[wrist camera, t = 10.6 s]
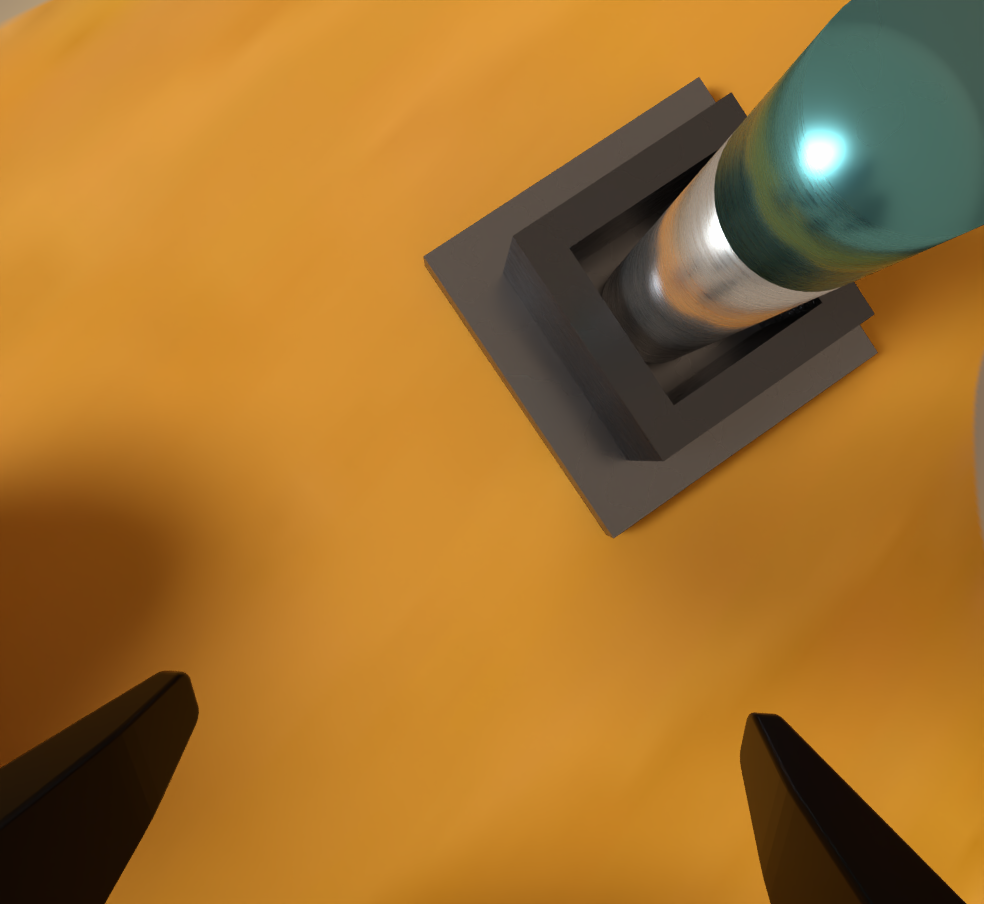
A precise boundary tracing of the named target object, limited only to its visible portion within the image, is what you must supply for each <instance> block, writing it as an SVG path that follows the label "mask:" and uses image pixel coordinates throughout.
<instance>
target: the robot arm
mask: <svg viewBox="0 0 984 904" xmlns="http://www.w3.org/2000/svg"><path fill="white" fill-rule="evenodd" d="M198 714H199V708H198V704H197V701H196V697H195V694H194V690H193V687H192V683H191V680H190V677H189V676H188V675H187V674H186V673H184V672H177V671H161V672H159V673H157V674H155V675H153V676H152V677H150V678H148V679H147V680H145V681H143V682H142V683H140V684H138V685H137V686H135V687H133V688H132V689H130V690H128V691H127V692H125V693H124V694H122V695H120V696H119V697H117V698H115V699H114V700H112V701H110V702H109V703H107V704H105V705H104V706H102V707H100V708H99V709H97V710H95V711H94V712H92V713H91V714H89V715H87V716H86V717H84V718H82V719H81V720H79V721H77V722H76V723H74V724H72V725H71V726H69V727H67V728H66V729H64V730H62V731H61V732H59V733H58V734H56V735H54V736H53V737H51V738H49V739H48V740H46V741H44V742H43V743H41V744H39V745H38V746H36V747H34V748H33V749H31V750H29V751H28V752H26V753H24V754H23V755H21V756H20V757H18V758H16V759H15V760H13V761H11V762H10V763H8V764H6V765H5V766H3V767H1V768H0V904H105V902H106V901H107V899H108V897H109V895H110V894H111V892H112V890H113V888H114V886H115V885H116V883H117V881H118V879H119V878H120V876H121V874H122V872H123V871H124V869H125V867H126V865H127V863H128V862H129V860H130V858H131V856H132V855H133V853H134V851H135V849H136V848H137V846H138V844H139V842H140V840H141V839H142V837H143V835H144V833H145V832H146V830H147V828H148V826H149V824H150V822H151V820H152V819H153V817H154V815H155V813H156V810H157V808H158V806H159V804H160V802H161V800H162V798H163V796H164V794H165V791H166V789H167V787H168V785H169V783H170V780H171V778H172V776H173V774H174V772H175V769H176V767H177V765H178V763H179V761H180V758H181V756H182V754H183V752H184V750H185V747H186V745H187V743H188V741H189V739H190V736H191V734H192V732H193V730H194V728H195V725H196V723H197V719H198ZM740 764H741V770H742V775H743V780H744V785H745V790H746V795H747V800H748V805H749V810H750V815H751V820H752V825H753V830H754V835H755V840H756V845H757V850H758V855H759V860H760V864H761V869H762V874H763V878H764V882H765V885H766V889H767V892H768V896H769V900H770V903H771V904H966V903H965V902H964V901H963V900H962V899H961V898H960V897H959V896H958V895H957V894H956V893H955V892H954V891H953V890H952V889H951V888H950V887H949V886H948V885H947V884H946V883H945V882H944V881H943V880H942V879H941V878H940V877H939V876H938V875H937V874H936V873H935V872H934V871H933V870H932V869H931V868H930V867H929V866H928V865H927V864H926V863H925V862H924V861H923V860H922V859H921V858H920V857H919V856H918V854H917V853H916V852H915V851H914V850H913V849H912V848H911V847H910V846H909V845H908V844H907V843H906V842H905V841H904V840H903V839H902V838H901V837H900V836H899V835H898V834H897V833H896V832H895V831H894V830H893V829H892V828H891V827H890V826H889V825H888V824H887V823H886V822H885V821H884V820H883V819H882V818H881V817H880V816H879V815H878V814H877V813H876V812H875V811H874V810H873V809H872V808H871V807H870V806H869V805H868V804H867V803H866V802H865V801H864V800H863V799H862V798H861V797H860V796H859V795H858V794H857V793H856V792H855V791H854V790H853V789H852V788H851V787H850V786H849V785H848V784H847V783H846V782H845V781H844V780H843V779H842V778H841V777H840V776H839V775H838V774H837V773H836V772H835V771H834V770H833V769H832V768H831V767H830V766H829V765H828V764H827V763H826V762H825V761H824V760H823V759H822V758H821V757H820V756H819V755H818V754H817V752H816V751H815V750H814V749H813V748H812V747H811V746H810V745H809V744H808V743H807V742H806V741H805V740H804V739H803V738H802V737H801V736H800V735H799V734H798V733H797V732H796V731H795V730H794V729H793V728H792V727H791V726H790V725H789V724H788V723H787V722H786V721H785V720H784V719H783V718H782V717H780V716H778V715H776V714H768V713H751V714H749V716H748V718H747V721H746V726H745V731H744V736H743V740H742V745H741V750H740Z"/></svg>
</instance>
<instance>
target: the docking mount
mask: <svg viewBox="0 0 984 904" xmlns="http://www.w3.org/2000/svg"><path fill="white" fill-rule="evenodd" d="M746 117H747V116H746V114H745V113H744V111H743V110H742V108H741V106H740V105H739V103H738V102H737V100H736V99H735V97H734V96H733V94H732V93H730V94H728V95H727V96H725V97H724V98H722V99H721V100H719V101H717V102H715V101H714V99H713V98H712V96H711V95H710V93H709V91H708V90H707V88H706V87H705V85H704V84H703V82H702V81H701V79H700V78H699V77H698V78H697V79H695V80H694V81H692V82H691V83H689V84H687V85H686V86H684V87H683V88H681V89H680V90H678V91H677V92H675V93H674V94H672V95H671V96H669V97H668V98H666V99H664V100H663V101H661V102H660V103H658V104H657V105H655V106H654V107H652V108H651V109H649V110H648V111H646V112H645V113H643V114H641V115H640V116H638V117H637V118H635V119H634V120H632V121H631V122H629V123H628V124H626V125H625V126H623V127H622V128H620V129H618V130H617V131H615V132H614V133H612V134H611V135H609V136H608V137H606V138H605V139H603V140H602V141H600V142H598V143H597V144H595V145H594V146H592V147H591V148H589V149H588V150H586V151H585V152H583V153H582V154H580V155H579V156H577V157H575V158H574V159H572V160H571V161H569V162H568V163H566V164H565V165H563V166H562V167H560V168H559V169H557V170H556V171H554V172H552V173H551V174H549V175H548V176H546V177H545V178H543V179H542V180H540V181H539V182H537V183H536V184H534V185H533V186H531V187H529V188H528V189H526V190H525V191H523V192H522V193H520V194H519V195H517V196H516V197H514V198H513V199H511V200H510V201H508V202H506V203H505V204H503V205H502V206H500V207H499V208H497V209H496V210H494V211H493V212H491V213H490V214H488V215H486V216H485V217H483V218H482V219H480V220H479V221H477V222H476V223H474V224H473V225H471V226H470V227H468V228H467V229H465V230H463V231H462V232H460V233H459V234H457V235H456V236H454V237H453V238H451V239H450V240H448V241H447V242H445V243H444V244H442V245H440V246H439V247H437V248H436V249H434V250H433V251H431V252H430V253H428V254H427V255H425V256H424V263H425V267H426V268H427V270H428V271H429V273H430V274H431V276H432V277H433V279H434V280H435V282H436V283H437V285H438V286H439V287H440V289H441V290H442V292H443V293H444V295H445V296H446V298H447V299H448V301H449V302H450V304H451V305H452V307H453V308H454V310H455V311H456V313H457V314H458V316H459V317H460V319H461V320H462V322H463V323H464V325H465V326H466V327H467V329H468V330H469V332H470V333H471V335H472V336H473V338H474V339H475V341H476V342H477V344H478V345H479V347H480V348H481V350H482V351H483V353H484V354H485V356H486V357H487V359H488V360H489V362H490V363H491V365H492V366H493V368H494V369H495V370H496V372H497V373H498V375H499V376H500V378H501V379H502V381H503V382H504V384H505V385H506V387H507V388H508V390H509V391H510V393H511V394H512V396H513V397H514V399H515V400H516V402H517V403H518V405H519V406H520V408H521V409H522V410H523V412H524V413H525V415H526V416H527V418H528V419H529V421H530V422H531V424H532V425H533V427H534V428H535V430H536V431H537V433H538V434H539V436H540V437H541V439H542V440H543V442H544V443H545V445H546V446H547V448H548V449H549V451H550V452H551V453H552V455H553V456H554V458H555V459H556V461H557V462H558V464H559V465H560V467H561V468H562V470H563V471H564V473H565V474H566V476H567V477H568V479H569V480H570V482H571V483H572V485H573V486H574V488H575V489H576V491H577V492H578V493H579V495H580V496H581V498H582V499H583V501H584V502H585V504H586V505H587V507H588V508H589V510H590V511H591V513H592V514H593V516H594V517H595V519H596V520H597V522H598V523H599V525H600V526H601V528H602V529H603V531H604V532H605V534H606V535H608V536H610V537H612V538H615V537H616V536H618V535H619V534H621V533H622V532H623V531H625V530H626V529H628V528H629V527H631V526H632V525H633V524H635V523H636V522H638V521H639V520H640V519H642V518H643V517H645V516H646V515H648V514H649V513H650V512H652V511H653V510H655V509H656V508H658V507H659V506H660V505H662V504H663V503H665V502H666V501H668V500H669V499H670V498H672V497H673V496H675V495H676V494H677V493H679V492H680V491H682V490H683V489H685V488H686V487H687V486H689V485H690V484H692V483H693V482H695V481H696V480H697V479H699V478H700V477H702V476H703V475H704V474H706V473H707V472H709V471H710V470H712V469H713V468H714V467H716V466H717V465H719V464H720V463H722V462H723V461H724V460H726V459H727V458H729V457H730V456H732V455H733V454H734V453H736V452H737V451H739V450H740V449H741V448H743V447H744V446H746V445H747V444H749V443H750V442H751V441H753V440H754V439H756V438H757V437H759V436H760V435H761V434H763V433H764V432H766V431H767V430H769V429H770V428H771V427H773V426H774V425H776V424H777V423H778V422H780V421H781V420H783V419H784V418H786V417H787V416H788V415H790V414H791V413H793V412H794V411H796V410H797V409H798V408H800V407H801V406H803V405H804V404H806V403H807V402H808V401H810V400H811V399H813V398H814V397H815V396H817V395H818V394H820V393H821V392H823V391H824V390H825V389H827V388H828V387H830V386H831V385H833V384H834V383H835V382H837V381H838V380H840V379H841V378H843V377H844V376H845V375H847V374H848V373H850V372H851V371H852V370H854V369H855V368H857V367H858V366H860V365H861V364H862V363H864V362H865V361H867V360H868V359H870V358H871V357H872V356H874V355H875V354H877V353H878V352H877V351H876V349H875V348H874V346H873V345H872V343H871V341H870V340H869V338H868V337H867V335H866V334H865V332H864V331H863V329H862V328H861V326H860V324H861V323H863V322H864V321H866V320H867V319H868V318H870V317H871V316H873V315H874V312H873V311H872V309H871V307H870V306H869V304H868V303H867V301H866V300H865V298H864V297H863V295H862V294H861V292H860V290H859V289H858V287H857V286H856V284H855V283H854V282H851V283H849V284H847V285H845V286H842V287H840V288H838V289H835V290H833V291H831V292H829V293H826V294H824V295H822V296H819V297H817V298H815V299H813V300H810V301H808V302H806V303H803V304H801V305H799V306H796V307H794V308H792V309H790V310H787V311H785V312H783V313H780V314H778V315H776V316H774V317H771V318H769V319H767V320H764V321H762V322H760V323H758V324H755V325H753V326H751V327H748V328H746V329H744V330H741V331H739V332H737V333H735V334H732V335H730V336H728V337H725V338H723V339H721V340H719V341H716V342H714V343H712V344H709V345H707V346H705V347H702V348H700V349H698V350H696V351H693V352H691V353H689V354H686V355H684V356H682V357H680V358H677V359H675V360H672V361H668V362H662V363H652V362H645V361H644V360H643V358H642V357H641V355H640V354H639V352H638V351H637V349H636V348H635V346H634V345H633V343H632V342H631V340H630V339H629V337H628V336H627V334H626V333H625V331H624V330H623V328H622V327H621V325H620V324H619V322H618V321H617V319H616V318H615V316H614V315H613V313H612V312H611V310H610V309H609V307H608V306H607V304H606V303H605V301H604V300H603V298H602V294H603V290H604V287H605V284H606V282H607V280H608V278H609V277H610V275H611V274H612V272H613V271H614V270H615V269H616V268H617V266H618V265H619V264H620V263H621V262H622V261H623V260H624V258H625V257H626V256H627V255H628V254H629V253H630V251H631V250H632V249H633V248H634V247H635V246H636V245H637V243H638V242H639V241H640V240H641V239H642V238H643V236H644V235H645V234H646V233H647V232H648V231H649V229H650V228H651V227H652V226H653V225H654V224H655V223H656V221H657V220H658V219H659V218H660V217H661V216H662V214H663V213H664V212H665V211H666V210H667V209H668V208H669V206H670V205H671V204H672V203H673V202H674V201H675V199H676V198H677V197H678V196H679V195H680V194H681V193H682V191H683V190H684V189H685V188H686V187H687V186H688V184H689V183H690V182H691V181H692V180H693V179H694V177H695V176H696V175H697V174H698V173H699V172H700V171H701V169H702V168H703V167H704V166H705V165H706V164H707V162H708V161H709V160H710V159H711V158H712V157H713V156H714V154H715V153H716V152H717V151H718V150H719V149H720V147H721V146H722V145H723V144H724V143H725V142H726V141H727V139H728V138H729V137H730V136H731V135H732V134H733V132H734V131H735V130H736V129H737V128H738V127H739V126H740V124H741V123H742V122H743V121H744V120H745V119H746Z"/></svg>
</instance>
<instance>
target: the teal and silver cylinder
mask: <svg viewBox="0 0 984 904" xmlns="http://www.w3.org/2000/svg"><path fill="white" fill-rule="evenodd" d="M982 225H984V0H851V1H850V2H849V3H847V4H846V5H845V6H844V7H843V8H842V9H841V10H840V11H839V12H838V13H837V14H836V15H835V16H834V17H833V18H832V19H831V20H830V22H829V23H828V24H827V25H826V26H825V27H824V28H823V30H822V31H821V32H820V33H819V34H818V35H817V37H816V38H815V39H814V40H813V41H812V42H811V43H810V45H809V46H808V47H807V48H806V49H805V50H804V52H803V53H802V54H801V55H800V56H799V57H798V58H797V60H796V61H795V62H794V63H793V64H792V65H791V67H790V68H789V69H788V70H787V71H786V72H785V74H784V75H783V76H782V77H781V78H780V79H779V80H778V82H777V83H776V84H775V85H774V86H773V87H772V89H771V90H770V91H769V92H768V93H767V94H766V95H765V97H764V98H763V99H762V100H761V101H760V102H759V104H758V105H757V106H756V107H755V108H754V109H753V110H752V112H751V113H750V114H749V115H748V116H747V117H746V119H745V120H744V121H743V122H742V123H741V124H740V126H739V127H738V128H737V129H736V130H735V131H734V132H733V134H732V135H731V136H730V137H729V138H728V139H727V141H726V142H725V143H724V144H723V145H722V146H721V147H720V149H719V150H718V151H717V152H716V153H715V154H714V156H713V157H712V158H711V159H710V160H709V161H708V162H707V164H706V165H705V166H704V167H703V168H702V169H701V171H700V172H699V173H698V174H697V175H696V176H695V177H694V179H693V180H692V181H691V182H690V183H689V184H688V186H687V187H686V188H685V189H684V190H683V191H682V193H681V194H680V195H679V196H678V197H677V198H676V199H675V201H674V202H673V203H672V204H671V205H670V206H669V208H668V209H667V210H666V211H665V212H664V213H663V214H662V216H661V217H660V218H659V219H658V220H657V221H656V223H655V224H654V225H653V226H652V227H651V228H650V229H649V231H648V232H647V233H646V234H645V235H644V236H643V238H642V239H641V240H640V241H639V242H638V243H637V245H636V246H635V247H634V248H633V249H632V250H631V251H630V253H629V254H628V255H627V256H626V257H625V258H624V260H623V261H622V262H621V263H620V264H619V265H618V266H617V268H616V269H615V270H614V271H613V272H612V274H611V275H610V277H609V278H608V280H607V282H606V284H605V287H604V290H603V294H602V298H603V300H604V301H605V303H606V304H607V306H608V307H609V309H610V310H611V312H612V313H613V315H614V316H615V318H616V319H617V321H618V322H619V324H620V325H621V327H622V328H623V330H624V331H625V333H626V334H627V336H628V337H629V339H630V340H631V342H632V343H633V345H634V346H635V348H636V349H637V351H638V352H639V354H640V355H641V357H642V358H643V360H644V361H645V362H652V363H662V362H668V361H672V360H675V359H677V358H680V357H682V356H684V355H686V354H689V353H691V352H693V351H696V350H698V349H700V348H702V347H705V346H707V345H709V344H712V343H714V342H716V341H719V340H721V339H723V338H725V337H728V336H730V335H732V334H735V333H737V332H739V331H741V330H744V329H746V328H748V327H751V326H753V325H755V324H758V323H760V322H762V321H764V320H767V319H769V318H771V317H774V316H776V315H778V314H780V313H783V312H785V311H787V310H790V309H792V308H794V307H796V306H799V305H801V304H803V303H806V302H808V301H810V300H813V299H815V298H817V297H819V296H822V295H824V294H826V293H829V292H831V291H833V290H835V289H838V288H840V287H842V286H845V285H847V284H849V283H851V282H854V281H856V280H858V279H861V278H863V277H865V276H868V275H870V274H872V273H874V272H877V271H879V270H881V269H884V268H886V267H888V266H890V265H893V264H895V263H897V262H900V261H902V260H904V259H907V258H909V257H911V256H913V255H916V254H918V253H920V252H923V251H925V250H927V249H929V248H932V247H934V246H936V245H939V244H941V243H943V242H945V241H948V240H950V239H952V238H955V237H957V236H959V235H962V234H964V233H966V232H968V231H971V230H973V229H975V228H977V227H980V226H982Z"/></svg>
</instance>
